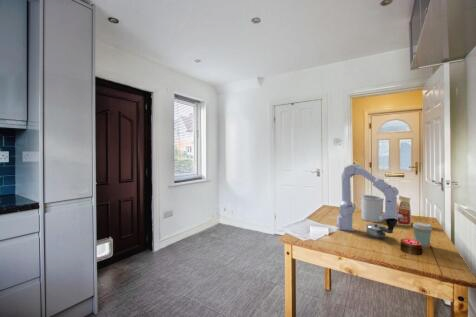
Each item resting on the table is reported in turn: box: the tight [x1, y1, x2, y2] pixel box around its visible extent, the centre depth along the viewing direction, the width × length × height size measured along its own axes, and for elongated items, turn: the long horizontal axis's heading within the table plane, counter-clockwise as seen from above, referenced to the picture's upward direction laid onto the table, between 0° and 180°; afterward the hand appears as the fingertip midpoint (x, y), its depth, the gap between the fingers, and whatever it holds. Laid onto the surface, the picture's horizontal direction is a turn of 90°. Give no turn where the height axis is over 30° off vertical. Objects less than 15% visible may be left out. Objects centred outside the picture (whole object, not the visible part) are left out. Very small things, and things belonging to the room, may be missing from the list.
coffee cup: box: [412, 221, 433, 249], centre depth 128 cm, size 8×8×12 cm
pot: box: [366, 227, 386, 240], centre depth 142 cm, size 17×10×5 cm, turn 170°
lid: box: [365, 223, 394, 235], centre depth 140 cm, size 16×11×2 cm
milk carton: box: [395, 195, 412, 227], centre depth 166 cm, size 9×9×20 cm
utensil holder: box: [360, 194, 385, 223], centre depth 175 cm, size 15×15×18 cm
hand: (390, 230), depth 135 cm, fingers closed, pressing on lid
